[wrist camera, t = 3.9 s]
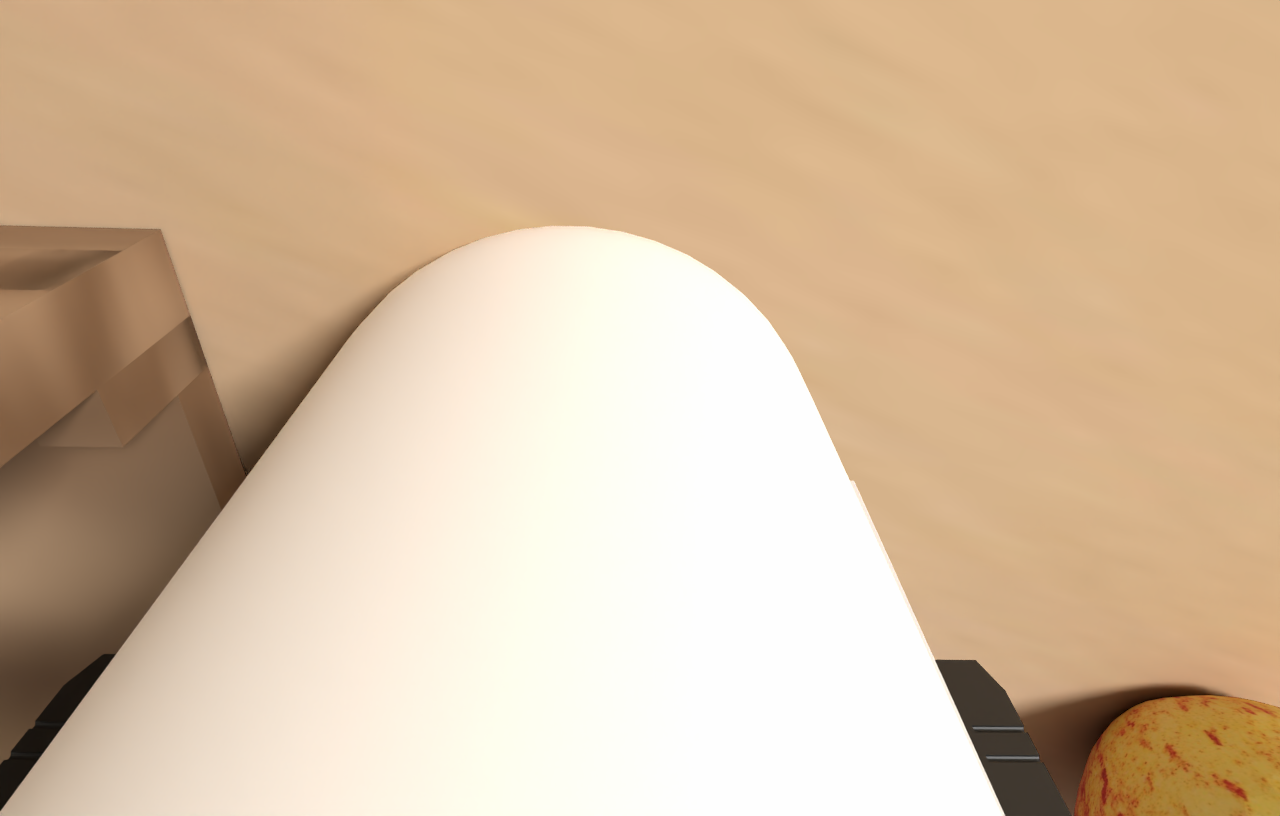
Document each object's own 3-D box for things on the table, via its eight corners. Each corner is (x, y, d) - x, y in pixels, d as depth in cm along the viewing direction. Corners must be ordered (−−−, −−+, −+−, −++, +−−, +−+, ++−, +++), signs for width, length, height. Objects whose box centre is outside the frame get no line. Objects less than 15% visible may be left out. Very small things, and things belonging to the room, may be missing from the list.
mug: (188, 541, 15) (-511, 1465, 6) (542, 87, 10) (-127, 1100, 1) (512, 703, 18) (404, 1450, 9) (889, 415, 13) (1456, 1345, 4)
